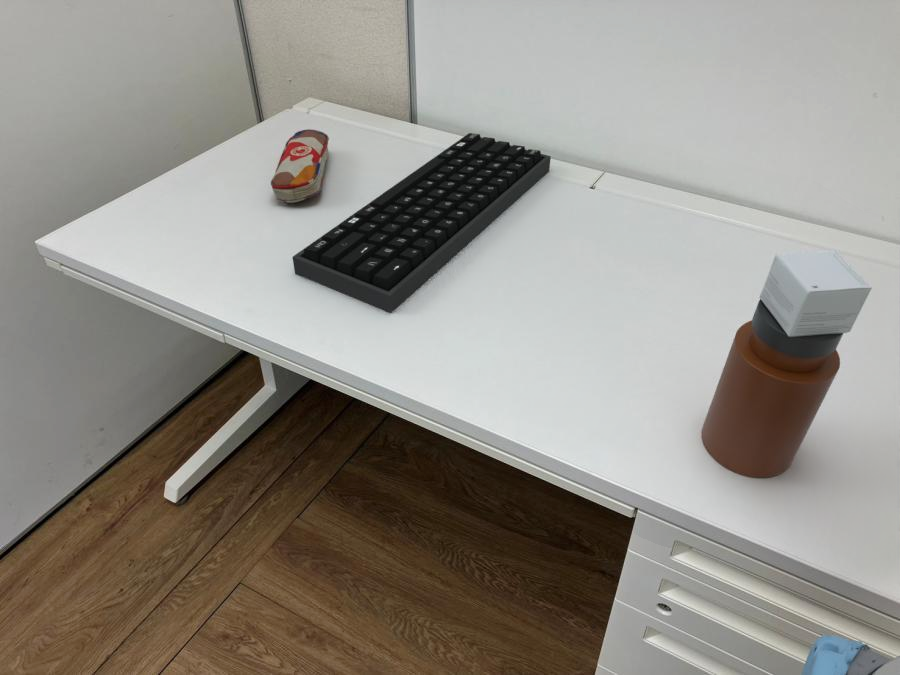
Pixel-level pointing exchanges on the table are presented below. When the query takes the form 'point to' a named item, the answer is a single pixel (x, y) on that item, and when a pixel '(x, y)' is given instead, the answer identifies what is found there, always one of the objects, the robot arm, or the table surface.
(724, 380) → the bottle
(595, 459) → the table surface
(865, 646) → the robot arm
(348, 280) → the computer keyboard
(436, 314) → the table surface
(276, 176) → the pencil case
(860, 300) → the small box
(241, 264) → the table surface
